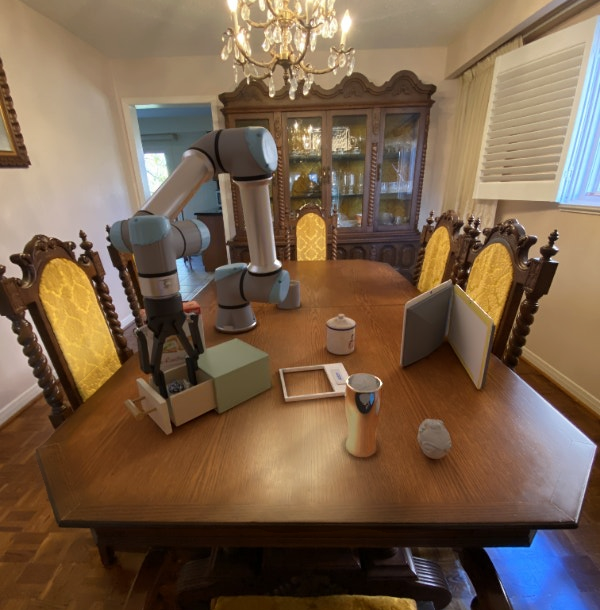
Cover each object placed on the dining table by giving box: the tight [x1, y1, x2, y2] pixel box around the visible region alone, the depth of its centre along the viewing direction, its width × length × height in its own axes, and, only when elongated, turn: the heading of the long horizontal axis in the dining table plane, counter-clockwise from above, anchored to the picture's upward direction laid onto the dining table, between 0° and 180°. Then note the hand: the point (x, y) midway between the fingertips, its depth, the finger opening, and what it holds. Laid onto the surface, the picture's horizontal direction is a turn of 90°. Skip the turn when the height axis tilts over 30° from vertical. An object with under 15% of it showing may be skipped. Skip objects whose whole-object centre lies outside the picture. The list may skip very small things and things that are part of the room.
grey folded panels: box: [399, 279, 497, 390], centre depth 100 cm, size 35×22×20 cm, turn 174°
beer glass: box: [344, 372, 383, 458], centre depth 66 cm, size 7×7×15 cm
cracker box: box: [140, 300, 207, 372], centre depth 92 cm, size 14×6×21 cm, turn 117°
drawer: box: [123, 363, 217, 436], centre depth 79 cm, size 19×13×8 cm
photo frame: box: [278, 362, 350, 403], centre depth 92 cm, size 15×1×18 cm
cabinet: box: [184, 337, 272, 414], centre depth 88 cm, size 16×15×10 cm
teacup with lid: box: [325, 313, 357, 356], centre depth 109 cm, size 12×9×12 cm
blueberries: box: [166, 379, 190, 398], centre depth 80 cm, size 7×8×2 cm
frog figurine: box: [416, 418, 452, 460], centre depth 66 cm, size 6×7×7 cm
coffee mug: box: [277, 279, 301, 310], centre depth 149 cm, size 13×10×10 cm
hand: (179, 389), depth 80 cm, fingers closed on blueberries, 6 cm apart
